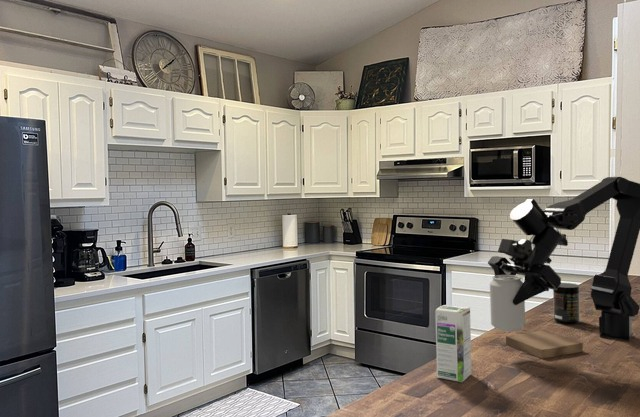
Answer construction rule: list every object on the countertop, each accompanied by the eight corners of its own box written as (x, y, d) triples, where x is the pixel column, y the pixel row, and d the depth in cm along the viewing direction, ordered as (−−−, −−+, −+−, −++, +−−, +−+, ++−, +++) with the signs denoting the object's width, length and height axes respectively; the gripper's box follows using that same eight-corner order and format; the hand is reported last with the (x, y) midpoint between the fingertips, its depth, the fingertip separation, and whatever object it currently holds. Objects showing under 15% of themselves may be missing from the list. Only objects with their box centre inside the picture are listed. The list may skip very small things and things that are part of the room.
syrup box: (435, 378, 110) (434, 309, 109) (446, 369, 115) (444, 303, 114) (462, 383, 107) (460, 312, 106) (472, 374, 111) (470, 306, 111)
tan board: (544, 337, 135) (544, 330, 134) (582, 351, 123) (582, 342, 123) (505, 344, 131) (505, 336, 130) (541, 358, 119) (541, 350, 119)
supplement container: (585, 322, 148) (584, 285, 147) (570, 326, 144) (569, 288, 144) (563, 317, 153) (563, 282, 153) (548, 321, 150) (547, 285, 150)
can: (528, 332, 117) (526, 279, 117) (493, 332, 119) (491, 279, 118) (522, 323, 125) (520, 273, 124) (489, 323, 126) (487, 273, 126)
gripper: (492, 223, 131) (456, 272, 128) (549, 228, 113) (508, 285, 110) (519, 252, 134) (484, 300, 131) (578, 261, 116) (540, 317, 113)
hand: (502, 300), depth 121 cm, fingers closed on can, 7 cm apart
